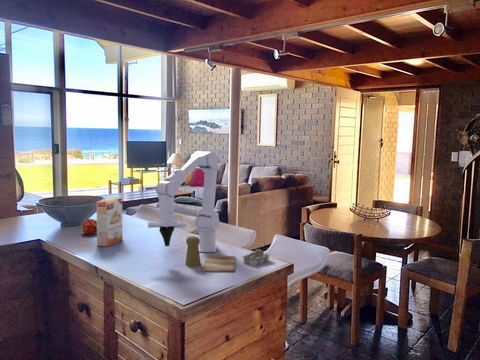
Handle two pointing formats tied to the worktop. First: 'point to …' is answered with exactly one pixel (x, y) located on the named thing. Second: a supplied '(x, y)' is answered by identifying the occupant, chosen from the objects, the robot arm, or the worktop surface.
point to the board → (219, 264)
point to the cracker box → (109, 221)
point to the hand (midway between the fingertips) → (167, 245)
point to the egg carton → (256, 257)
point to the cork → (192, 252)
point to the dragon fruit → (89, 226)
